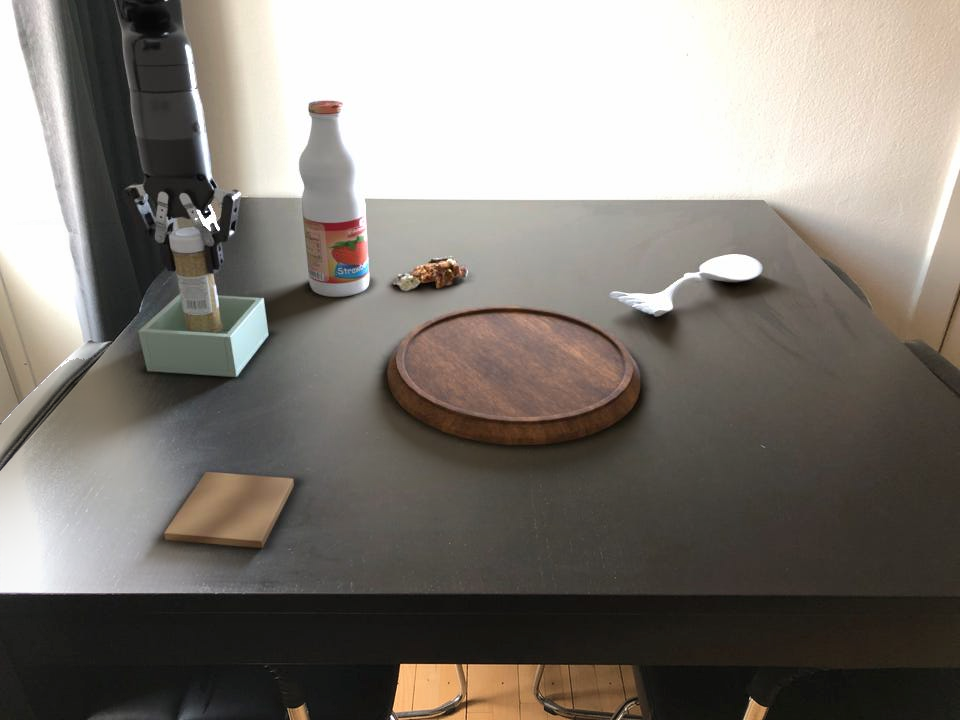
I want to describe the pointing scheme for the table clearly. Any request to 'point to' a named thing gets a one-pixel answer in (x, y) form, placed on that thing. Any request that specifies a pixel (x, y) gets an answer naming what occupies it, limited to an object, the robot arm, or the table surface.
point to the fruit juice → (333, 206)
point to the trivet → (231, 510)
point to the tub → (205, 339)
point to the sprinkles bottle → (195, 282)
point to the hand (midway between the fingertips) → (194, 269)
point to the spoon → (716, 268)
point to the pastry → (432, 274)
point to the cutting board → (514, 375)
